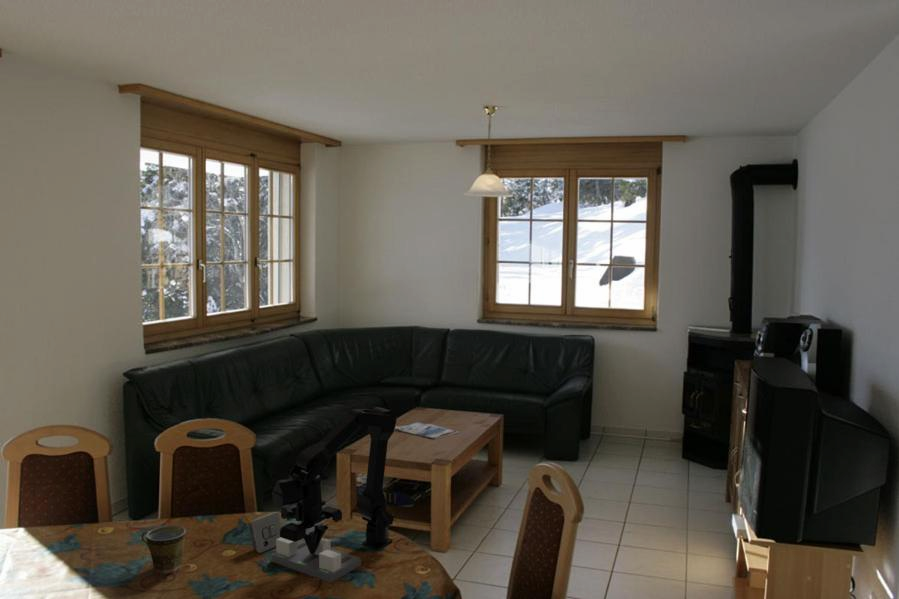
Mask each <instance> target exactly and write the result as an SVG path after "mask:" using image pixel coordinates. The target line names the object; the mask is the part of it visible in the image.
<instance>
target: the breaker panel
mask: <svg viewBox="0 0 899 599" xmlns="http://www.w3.org/2000/svg"><path fill="white" fill-rule="evenodd" d="M275 548H276V549H275V550H276V552H273V553H271V554H270V561H271V562H272V563H275V564H277V565H279V566H280V565H281V566H283V567H286V568H289V569H291V570H293V571H296V572H300V573H303V574H305V575H308V576H312V577H314V578H318V579H319V580H323V581H326V582H328V583H333V582H334V581H336V580H338V579H340V578H341V577H343V576H345V575H347V574H348V573H350V572H352V571H354V570H355V569H357V568H360V567H361V565H362V559H361V557H359V556H355V555H353V554H348V553H345V552H343V551H339V550H337V549H333V548H331V551H330V550H325V551H323V552H321V553H319V555H316V554H311V553H310V552H309V549H308V547H307V544H306V542H305V540H304V539H301V540H299V541H296V542H293V541H290V540H287V539H284V538H281V537H280V538H278V539H276V547H275Z"/></svg>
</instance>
